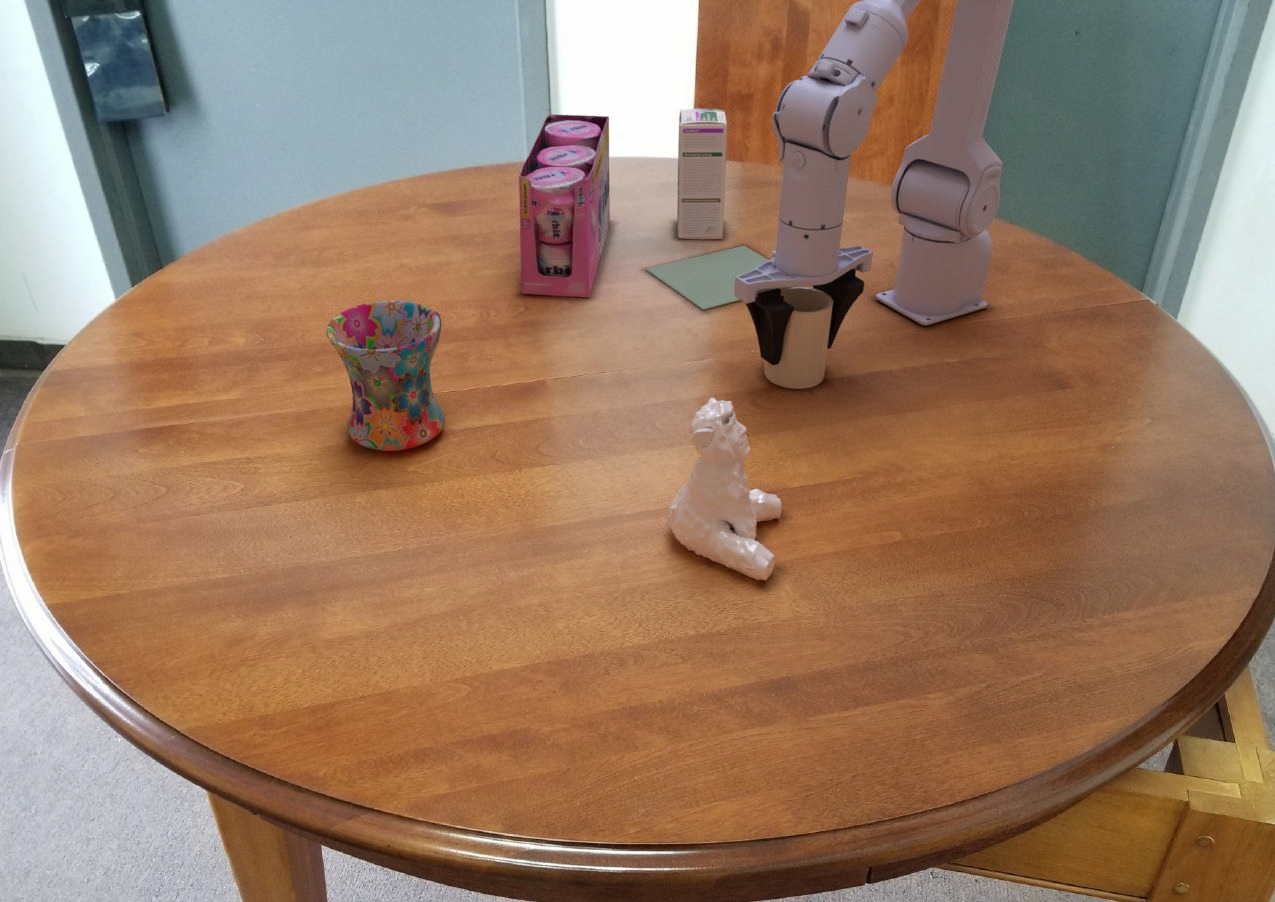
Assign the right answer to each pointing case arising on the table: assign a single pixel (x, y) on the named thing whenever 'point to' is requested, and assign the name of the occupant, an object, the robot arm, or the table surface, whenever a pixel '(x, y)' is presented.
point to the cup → (803, 340)
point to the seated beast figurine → (722, 496)
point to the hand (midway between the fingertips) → (796, 352)
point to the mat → (709, 275)
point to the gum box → (564, 205)
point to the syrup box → (701, 173)
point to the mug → (389, 372)
